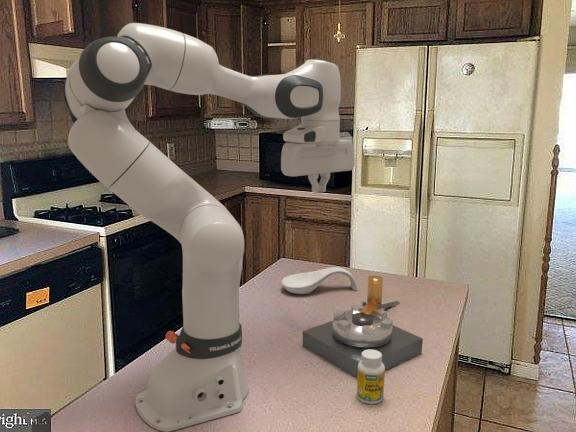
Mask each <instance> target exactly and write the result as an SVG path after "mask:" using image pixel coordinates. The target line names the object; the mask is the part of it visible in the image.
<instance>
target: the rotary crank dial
mask: <svg viewBox="0 0 576 432" xmlns="http://www.w3.org/2000/svg"><path fill="white" fill-rule="evenodd" d="M383 283H384V278H383V277H382V276H379V275H369V276H368V277H367V300H366V302H367V305H366V306H365V307H364V308H363V307H362V304H360V305H358V304H357V305H356V304H354V305H350V307H351V310H342V309H341V310H340V309H336V311H335V312H334V313H333V318H332V321H333V336H334V337H335V338H336V339H337V340H339V341H340V342H342V343H344V344H347V345H351V346H355V347H378V346H382V345H384V344H387V343H388V342H389V341H390V340H391V339H392V328H393V324H394V323H393V320H394V319H391V318H390V317H388V311H386V310H384V309H381V305H382V303H383V302H382V299H383V287H384V286H383Z"/></svg>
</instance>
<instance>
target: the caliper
mask: <svg viewBox="0 0 576 432" xmlns="http://www.w3.org/2000/svg"><path fill="white" fill-rule="evenodd" d="M361 303H362V304H361V305H362V307H363V308H364V307H365V306H366V305H367V300H366V301H365V300H364V301H362V302H361ZM398 304H401V302H400V301H399V300H398V299H392V300H388V301H383V302H382V305H381V309H382V310H384V309H388V308H393V307H396V306H397V305H398Z"/></svg>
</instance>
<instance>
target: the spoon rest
mask: <svg viewBox="0 0 576 432" xmlns="http://www.w3.org/2000/svg"><path fill="white" fill-rule="evenodd" d="M335 274H341V275H344V276H346V277H348V279H349V281H350V287H351V289H352V291H354V292H357V291H358V283H357V282H356V278H355V277H354V276H353V274H352V273H351V272H350V271H349V270H348V269H345V268H342V267H338V266H333V267H332V266H331V267H327V268H323V269H319V270H314V271H308V272H307V271H306V272H299V273H295V274H290V275H287V276H285V277H284V278H282V280H281V285H282V287H283V288H284V289H285V291H287V292H290V293H291V294H295V295H309V294H311V293H312V292H314V290H315V289H316V288H318V287H319V286H320V285H321V284H322V283H323V282H324V280H326V279H327V278H328V277H330V276H331V275H335Z"/></svg>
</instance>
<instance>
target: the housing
mask: <svg viewBox="0 0 576 432" xmlns="http://www.w3.org/2000/svg"><path fill="white" fill-rule="evenodd" d="M423 340H424V339H423V337H421V336H419V335H415V334H413V333H412V332H409V331H407V330H405V329H402V328H401V327H398V326H396V325H393V328H392V339H391V340H390V341H389V342H388V343H387V344H384V345H382V346H378V347H355V346H351V345H347V344H344V343H342V342H340V341H339V340H337V339H336V338H335V337H334V336H333V320H330V321H328V322H325V323H322V324H319V325H316V326H314V327H311V328H308V329H305V330H302V347H303V348H305V349H307V350H308V351H310V352H311V353H313V354H315V355H317V356H318V357H320V358H321V359H324V360H325V361H327V362H329V363H330V364H332V365H333V366H335V367H337V368H339V369H340V370H342V371H343V372H345V373H347V374H348V375H350V376H352V377H354V378H356V379H357V376H358V364H359V362H360V361H361V360H362V359H361V355H362V352H363V351H364V350H368V349H372V350H377V351H379V352H380V353H381V354H382V361H381V362H382V363H383V364H384V366H385V372H386V371H388V370H391V369H392V368H395V367H396V366H399V365H401V364H403V363H405V362H408V361H409V360H412V359H414V358H416V357H418V356H421V355H423V353H422V351H423Z"/></svg>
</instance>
